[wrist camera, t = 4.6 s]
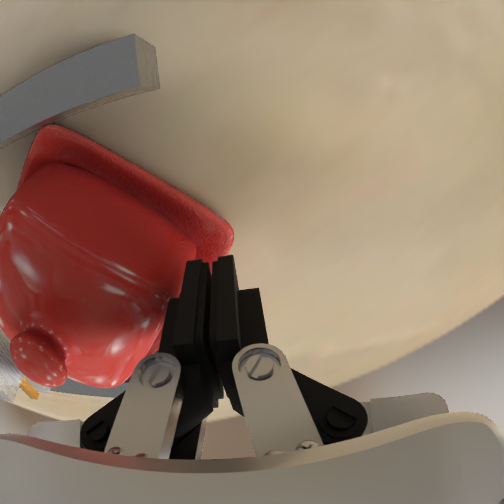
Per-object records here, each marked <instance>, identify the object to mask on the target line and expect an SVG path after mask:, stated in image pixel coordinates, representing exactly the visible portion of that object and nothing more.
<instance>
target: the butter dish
mask: <svg viewBox="0 0 504 504" xmlns="http://www.w3.org/2000/svg"><path fill="white" fill-rule="evenodd" d="M233 240H234V232H233V229H232V227H231V226H230V225H229V223H228V222H227V221H226V220H224V219H223V218H222V217H221V216H219V215H218V214H216V213H215V212H213V211H212V210H211V209H209V208H207V207H206V206H205V205H203V204H202V203H200V202H198V201H196V200H194V199H192V198H191V197H189V196H188V195H186V194H184V193H183V192H181V191H180V190H178V189H176V188H174V187H173V186H171V185H169V184H167V183H166V182H164V181H162V180H161V179H159V178H157V177H156V176H154V175H152V174H150V173H149V172H147V171H145V170H144V169H142V168H140V167H139V166H137V165H135V164H133V163H132V162H130V161H128V160H126V159H124V158H123V157H121V156H119V155H117V154H115V153H113V152H112V151H111V150H109V149H107V148H105V147H103V146H102V145H100V144H97V143H95V142H94V141H92V140H90V139H88V138H86V137H84V136H83V135H80V134H79V133H77V132H74V131H72V130H70V129H68V128H65V127H63V126H60V125H56V124H47V125H45V126H43V127H42V128H41V129H40V130H39V131H38V132H37V134H36V136H35V138H34V140H33V142H32V145H31V147H30V150H29V153H28V156H27V159H26V161H25V164H24V167H23V171H22V173H21V178H20V181H19V184H18V188H17V191H16V193H15V194H14V195H13V196H12V197H11V199H10V200H9V202H8V203H7V205H6V206H5V208H4V210H3V212H2V214H1V216H0V328H1V329H2V331H3V332H4V333H5V335H6V336H7V337H8V338H9V339H10V340H11V343H10V347H9V349H10V354H11V357H12V359H13V362H14V363H15V365H16V367H17V368H18V369H19V370H20V371H21V372H22V373H23V374H24V375H25V376H26V377H28V378H29V379H30V380H32V381H34V382H35V383H37V384H40V385H42V386H46V387H58V386H61V385H62V384H63V383H64V382H65V380H66V378H69V379H71V380H74V381H76V382H79V383H82V384H86V385H89V386H93V387H98V388H113V387H116V386H119V385H121V384H122V383H124V382H125V381H126V380H127V379H128V378H129V377H130V376H131V375H132V373H133V371H134V369H135V367H136V365H137V364H138V363H139V362H140V361H141V360H142V359H143V358H145V357H146V356H148V355H151V354H154V353H155V352H156V351H157V350H158V349H159V345H160V340H161V335H162V330H163V325H164V320H165V315H166V311H167V306H168V302H169V299H170V298H179V297H180V293H181V288H182V282H183V277H184V272H185V267H186V262H187V261H190V260H197V259H202V260H203V263H205V262H208V263H209V266H210V271H211V275H212V262H213V261H218V257H220V256H227V255H228V252H229V251H230V248H231V246H232V243H233Z"/></svg>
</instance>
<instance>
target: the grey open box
mask: <svg viewBox="0 0 504 504" xmlns="http://www.w3.org/2000/svg"><path fill="white" fill-rule="evenodd" d="M159 88H160V84H159V76H158V68H157V60H156V51H155V47H154V46H153V45H151V44H150V43H148V42H147V41H145V40H143V39H142V38H140V37H139V36H137V35H136V34H132V35H129V36H125V37H122V38H119V39H116V40H113V41H110V42H107V43H105V44H102V45H99V46H97V47H94V48H91V49H89V50H86V51H84V52H82V53H79V54H77V55H75V56H72V57H70V58H68V59H66V60H64V61H61V62H59V63H57V64H55V65H53V66H51V67H49V68H47V69H45V70H43V71H42V72H40V73H38V74H36V75H34V76H32V77H31V78H29V79H27V80H25V81H24V82H22V83H20V84H19V85H17V86H15V87H14V88H12V89H11V90H9V91H8V92H6V93H4V94H3V95H1V96H0V149H1V148H3V147H5V146H7V145H8V144H10V143H12V142H14V141H16V140H18V139H20V138H22V137H24V136H26V135H28V134H30V133H32V132H34V131H36V130H38V129H40V128H42V127H43V126H45V125H47V124H52V123H54V122H56V121H59V120H61V119H64V118H66V117H69V116H71V115H74V114H76V113H79V112H82V111H84V110H87V109H90V108H93V107H96V106H99V105H102V104H105V103H108V102H111V101H114V100H117V99H121V98H124V97H128V96H131V95H135V94H139V93H143V92H147V91H151V90H155V89H159ZM158 351H159V349H158V350H157V351H156V352H155V353H158ZM131 376H132V375H131ZM131 376H130V377H129V378H128V379H127V380H126V381H125V382H124V383H122V384H121V385H119V386H116V387H113V388H98V387H93V386H89V385H86V384H82V383H79V382H76V381H74V380H71V379H69V378H66V380H65V382H64V383H63V384H62V385H61V386H58V387H46V386H42V385H40V384H37V383H35V382H34V381H32V380H30V379H29V378H28V377H26V376H25V375H24V378H25V379H26V380H27V381H28V382H29V383H30V385H31V386H32V387H33V388H34V389H35V390H36V391H38V392H44V393H50V391H56V392H63V393H71V394H79V395H89V396H100V397H113V398H116V397H117V396H119V395H120V394H121V393H123V392H124V391H125V390H126V389H127V386H128V384H129V381H130V379H131ZM19 388H20V387H19Z"/></svg>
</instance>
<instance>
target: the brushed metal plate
mask: <svg viewBox="0 0 504 504" xmlns="http://www.w3.org/2000/svg"><path fill="white" fill-rule="evenodd" d="M10 343H11V340H10V339H9V338H8V337H7V336H6V335H5V333H4V332H3V331H2V329H1V328H0V398H1V399H4V400H7V401H11V402H13V401H14V398H15V396H16V393H17V391H18V388H19V387H20V388H21V389H22V390H23V391H24V392H25V393H26V394H27V395H28V396H29V397H30V398H31V399H36V400H37V399H38V396H39V393H38V392H37V391H36V390H35V389H34V388H33V387H32V386H31V385H30V383H29V382H28V381H27V380H26V379H25V378H24V374H23V373H22V372H21V371H20V370H19V369H18V368H17V367H16V365H15V363H14V362H13V359H12V357H11V354H10V349H9V347H10Z"/></svg>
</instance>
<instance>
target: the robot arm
mask: <svg viewBox="0 0 504 504" xmlns="http://www.w3.org/2000/svg"><path fill="white" fill-rule="evenodd" d="M223 386H224V389H225V391H226V394H227V397H228V398H229V399H230V402H231V405H232V408H233V410H235V411H236V412H238V413H239V414H241V415H242V416H243V417H245V420H246V424H247V427H248V431H249V435H250V438H251V442H252V445H253V449H254V452H255V455H256V457H246V458H234V459H233V458H232V459H212V460H201V455H202V449H203V443H204V437H205V431H206V425H207V416H208V415H209V414H210V413H211V412H212V411H213V408H216V407H218V399H223V397H224V392H223ZM0 504H504V435H503V434H502V432H501V430H500V429H499V428H498V427H497V425H496V424H495V423H494V422H493V421H492V420H491V419H489V418H488V417H486V416H484V415H482V414H478V413H470V412H452V413H449V411H448V406H447V404H446V402H445V400H444V399H443V398H442V397H441V396H440V395H437V394H435V393H421V394H414V395H406V396H398V397H389V398H377V399H371V400H370V401H369V402H358V401H356V400H355V399H353V398H350V397H349V396H346V395H344V394H342V393H340V392H338V391H336V390H334V389H331V388H329V387H327V386H325V385H323V384H321V383H319V382H317V381H315V380H313V379H311V378H309V377H307V376H305V375H303V374H301V373H299V372H297V371H295V370H293V369H291V368H290V366H289V364H288V361H287V359H286V357H285V355H284V354H283V352H282V351H281V350H280V349H278V348H277V347H275V346H273V345H270V344H268V338H267V332H266V326H265V321H264V315H263V309H262V303H261V297H260V292H259V288H253V289H245V290H239V287H238V281H237V275H236V269H235V263H234V257H233V255H227V256H220V257H218V261H213V262H212V275H211V271H210V266H209V263H208V262H205V263H203V260H202V259H197V260H190V261H187V262H186V267H185V272H184V277H183V282H182V288H181V293H180V297H179V298H170V299H169V302H168V306H167V311H166V315H165V320H164V325H163V330H162V335H161V340H160V345H159V351H158V353H154V354H151V355H148V356H146V357H145V358H143V359H142V360H141V361H140V362H139V363H138V364H137V365H136V367H135V369H134V371H133V373H132V376H131V379H130V381H129V384H128V386H127V389H126V390H125V391H124V392H123V393H121V394H120V395H119V396H117V397H116V398H115V399H113V400H112V401H110V402H109V403H108V404H106V405H105V406H104V407H102V408H101V409H99V410H98V411H97V412H95V413H94V414H93V415H91V416H90V417H89V418H88V419H87V420H86V421H85V422H82V421H81V420H80V419H79V420H67V421H54V422H39V423H36V424H34V425H33V426H32V427H31V428H30V430H29V432H28V435H21V434H10V433H9V434H0Z"/></svg>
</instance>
